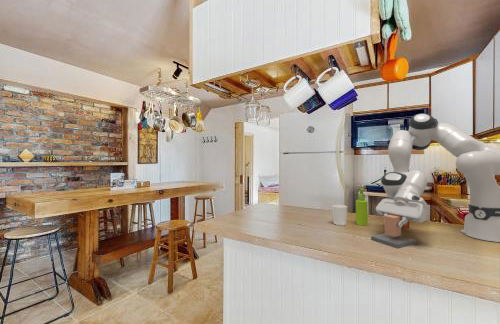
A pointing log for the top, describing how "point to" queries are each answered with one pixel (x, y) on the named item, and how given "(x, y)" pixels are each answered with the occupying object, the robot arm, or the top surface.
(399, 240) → the slate coaster
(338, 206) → the white cup
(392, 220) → the terracotta block
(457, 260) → the top surface
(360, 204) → the soap dispenser
